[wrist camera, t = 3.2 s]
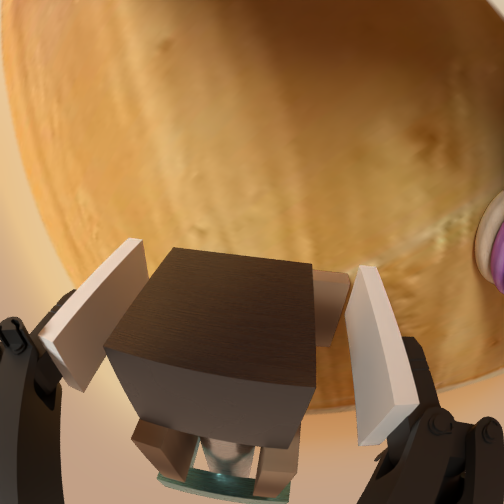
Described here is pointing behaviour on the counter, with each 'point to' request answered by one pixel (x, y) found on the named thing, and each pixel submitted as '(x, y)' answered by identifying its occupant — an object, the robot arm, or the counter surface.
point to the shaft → (221, 352)
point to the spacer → (221, 486)
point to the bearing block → (270, 459)
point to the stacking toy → (492, 243)
